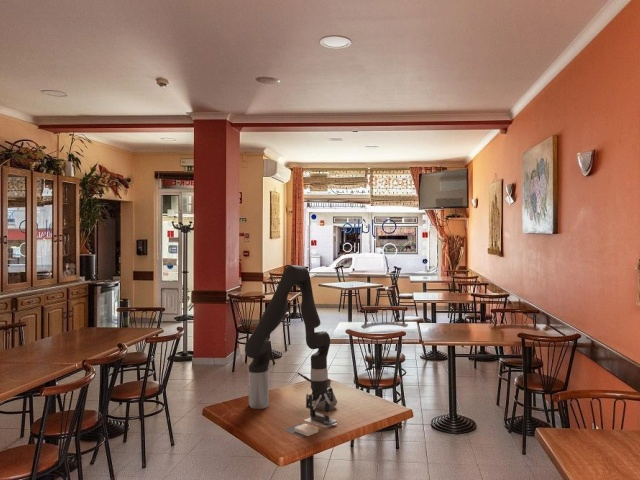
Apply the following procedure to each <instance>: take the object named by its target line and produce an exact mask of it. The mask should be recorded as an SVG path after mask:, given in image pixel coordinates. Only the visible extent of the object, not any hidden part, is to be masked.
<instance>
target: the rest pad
mask: <svg viewBox="0 0 640 480" xmlns="http://www.w3.org/2000/svg"><path fill="white" fill-rule="evenodd" d="M304 421H305V422H307V423H311V424H313V425H317V426H318V427H321V428H325V429H327V428H330V427H332V426H335V425H337V424H338V422H337V423H335V424H332V425H329V424H326V425H325V424H322V423H319V422H316V421H313V420H311V416H310V417H307V418H305V419H304Z"/></svg>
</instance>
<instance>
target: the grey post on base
mask: <svg viewBox="0 0 640 480" xmlns="http://www.w3.org/2000/svg"><path fill="white" fill-rule="evenodd" d="M310 417H311V416H310ZM311 420H313V421H316V422H319V423H322V424H325V425H326V424H329V425H332V424H335V423H338V420H337V419H333V418H330V416H329V415H326V414H323V413H321V412H319V411H315V418H312V417H311ZM335 425H336V424H335Z"/></svg>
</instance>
